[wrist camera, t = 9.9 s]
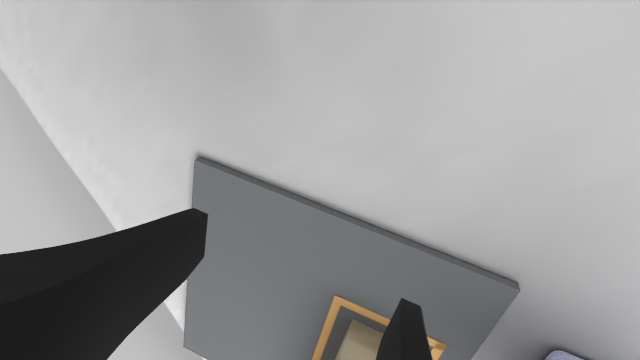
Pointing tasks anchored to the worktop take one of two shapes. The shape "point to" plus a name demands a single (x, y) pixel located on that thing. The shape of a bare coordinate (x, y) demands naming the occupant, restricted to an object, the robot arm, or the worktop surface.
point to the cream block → (360, 343)
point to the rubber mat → (319, 278)
